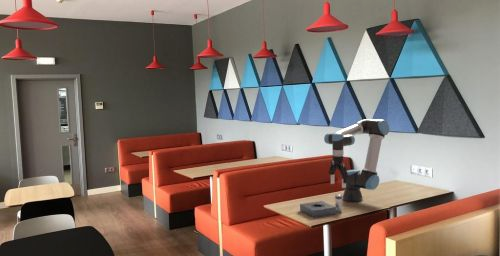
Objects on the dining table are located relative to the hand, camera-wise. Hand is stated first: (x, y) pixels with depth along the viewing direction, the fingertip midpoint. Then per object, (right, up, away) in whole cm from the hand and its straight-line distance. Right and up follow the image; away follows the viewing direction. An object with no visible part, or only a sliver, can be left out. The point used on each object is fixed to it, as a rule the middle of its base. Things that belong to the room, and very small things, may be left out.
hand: (338, 185), depth 285 cm
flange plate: (-14, -19, +1) cm, 24 cm away
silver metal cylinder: (+1, -19, +2) cm, 19 cm away
